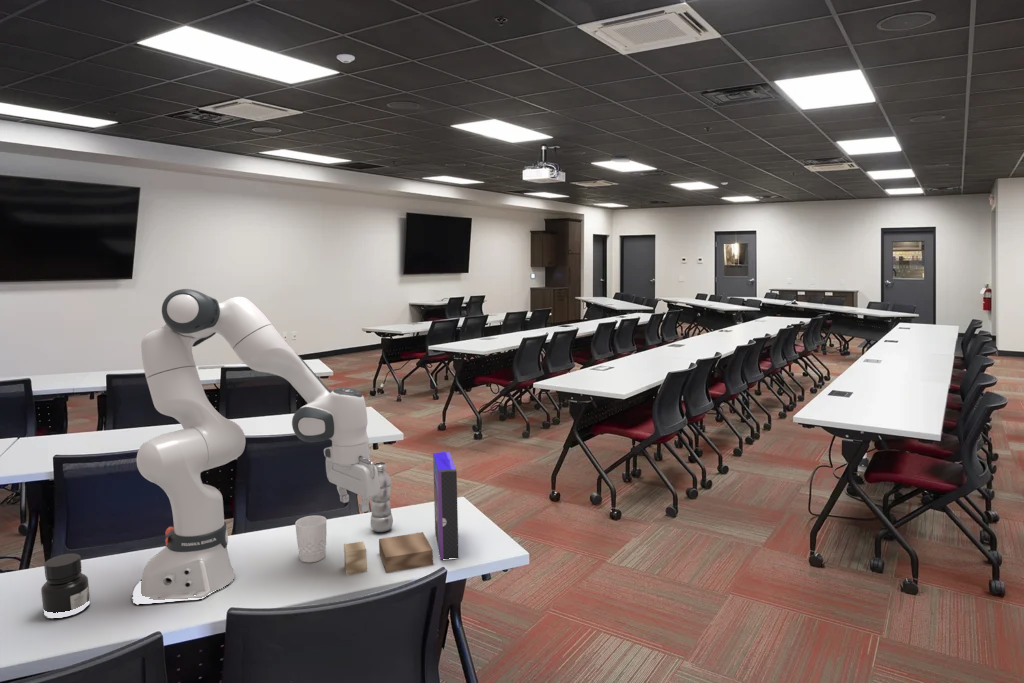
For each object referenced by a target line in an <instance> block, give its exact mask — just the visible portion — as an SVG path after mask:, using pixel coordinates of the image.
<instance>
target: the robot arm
mask: <svg viewBox="0 0 1024 683" xmlns="http://www.w3.org/2000/svg"><path fill="white" fill-rule="evenodd" d="M161 315H162V319H163V321H164V323H165V325H163V326H162V327H161V328H157V329H154V330H152V331H150V332H147V334H146V335H144V337H143V338H142V340H141V345H140V346H141V347H140V348H141V357H142V358H141V359H142V360H141V361H142V365H143V366H142V367H143V371H144V375H145V379H146V382H147V383H146V384H147V386H148V389H149V392H150V396H151V397H150V398H151V401H152V403H153V405H154V408H155V410H156V411H157V412H158V413H160V414H161V415H164V416H167V417H172V418H174V419H175V420H176V421H177V422H178V423H179V424H180V425H181V426H182V428H183V429H179V430H175V431H170V432H166V433H163V434H160V435H158V436H156V437H153V438H151V439H149V440H147V441H145V442H143V443H142V444H141V445H140V446H139V449H138V450H137V453H136V454H137V455H136V461H135V462H136V466H137V469H138V472H139V473H140V475H141V476H142V477H143V478H144V479H145V480H147V481H149V482H151V483H152V484H153V483H154V484H155V485H157V486H159V487H160V488H161V489H162V490H163V491H164V493H165V494H166V495H167V497H168V499H169V503H170V507H171V511H172V519H173V526H168V528H166V530H165V534H164V535H165V538H164V539H165V540H164V541H165V547H164V548H163V549H162V550H160V551H159V552H158V553H157V554H156V555H154V556H153V557H152V558H151V559H150V560H148V562H147V563H146V565H145V566H144V569H143V572H142V576H141V579H142V582H141V594H142V596H145V597H150V598H149V599H153V600H165V599H188V598H202V597H205V596H207V595H208V594H209V593H211V592H213V591H215V590H218V589H220V588H222V587H224V586H226V585H227V584H229V583H230V582H231V581H232V582H233V581H234V580H235V578H236V573H235V571H234V569H233V566H232V563H231V560H230V555H229V550H228V544H229V537H228V536H229V535H228V528H227V522H226V521H225V514H224V500H223V495H222V493H221V491H220V490H219V489H217V488H216V487H215V486H212V485H210V484H206V483H203V481H202V478H201V473H203V472H204V471H205V472H206V471H209V470H210V469H214V468H217V467H220V466H224V465H226V464H229V463H230V462H232V461H234V460H235V459H237V458H239V457H240V456H241V455H242V454H243V453H244V451H245V447H246V435H245V433H244V431H243V429H242V427H241V426H240V425H239V424H237V422H235V421H232V420H230V419H229V418H226V417H225V416H223V415H222V414H221V413H220V412H218V410H216V408H215V407H214V406H213V405H212V403H211V402H210V401H209V398H208V396H207V394H206V393H205V390H204V388H203V384H202V381H201V378H200V375H199V372H198V368H197V366H196V365H197V364H196V361H195V358H194V355H193V347H196V346H198V345H200V344H202V343H203V342H205V341H208V340H209V339H210V338H213V337H214V336H215V335H216V334H219V335H220V336H222V337H223V338H224V340H226V342H227V343H228V344H229V346H230V348H232V350H233V351H234V353H235V354H236V356H238V358H239V359H240V361H242V362H243V364H245V365H246V366H247V367H248V368H250V369H251V370H252V371H255V372H260V373H266V374H272V375H275V376H279V377H280V378H283V379H285V380H286V381H287V382H289V383H290V385H291V386H292V387H293V389H295V391H297V393H298V394H299V395H300V396H301V398H303V399H304V401H305V402H306V404H305V405H303V406H301V407H300V408H298V409H297V410H296V411H295V412H294V414H293V416H292V420H291V427H292V430H293V432H294V434H295V435H296V437H297V438H298V439H299V440H301V441H303V442H304V443H305V442H306V443H316V442H322V441H327V440H331V446H329V447H325V448H324V449H323V455H324V457H325V472H326V477H327V480H328V481H329V483H331V484H333V485H336V489H337V492H338V494H339V501H340V502H341V503H343V504H345V503H348V502H349V501H350V494H348V491H350V492H352V493H354V494H356V495H359V496H360V499H361V503H360V504H359V505H358V507H359V511H360V512H363V513H366V512H369V509H370V507H369V506H370V505H369V504H370V502H371V498H372V497H375V496H378V495H379V493H380V484H379V476H378V471H377V468H376V467H375V466H374V465H373V464H374V462H373V461H372V459H370V444H369V442H370V441H369V436H368V433H367V426H368V412H367V406H366V399H365V397H364V395H363V393H361V391H359V390H357V389H354V388H349V387H348V388H347V387H343V388H342V387H338V388H335V389H333V390H331V389H330V388H328V387H327V386H326V384H324V382H323V381H322V380H321V379H320V378H319V377H318V376H317V375H316V373H315V372H314V371H313V370H312V369H311V367H310V366H309V365H308V364H307V363H306V362H305V360H303V358H302V357H301V356H300V355H298V353H297V352H296V351H295V350H294V349H293V348H292V347H291V345H289V344H288V343H287V342H286V340H285V339H284V337H283V336H281V334H280V333H279V332H278V330H277V328H275V327H274V325H273V324H272V322H271V321H270V320H269V319H268V317H267V316H266V315H265V314H264V313H263V312H262V311H261V310H260V308H258V307H257V305H255V304H254V303H253V302H252V301H251V300H250V299H248V298H247V297H245V296H235V297H231V298H228V299H226V300H224V301H222V302H218V300H217V299H216V298H214V297H212V296H209V295H206V294H205V293H202V292H200V291H198V290H195V289H191V288H190V289H189V288H181V289H177V290H175V291H172V292H171V293H169V294H168V295H167V296H166V298H165V299H164V300H163V303H162V306H161ZM234 577H235V578H234ZM233 579H234V580H233ZM232 582H231V583H232ZM231 583H230V584H231ZM230 584H229V585H230ZM226 587H227V586H226ZM224 588H225V587H224ZM222 589H223V588H222ZM220 590H221V589H220ZM218 591H219V590H218ZM194 595H196V596H194Z"/></svg>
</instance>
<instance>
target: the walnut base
mask: <svg viewBox="0 0 1024 683" xmlns="http://www.w3.org/2000/svg"><path fill="white" fill-rule="evenodd" d="M378 548H379V549H378V553H379V556H380V559H381V561H382V563H383V567H384V569H385V573H392V572H398V571H404V570H411V569H416V568H422V567H423V568H424V567H427V566H433V565H434V550H433V548H432V546H431V544H430V542H429V540H428V539H427V537H426V535H425V533H424V532H423V531H422V532H417V533H416V532H414V533H409V534H402V535H395V536H389V537H382V538H378Z"/></svg>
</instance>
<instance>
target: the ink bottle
mask: <svg viewBox="0 0 1024 683" xmlns="http://www.w3.org/2000/svg"><path fill="white" fill-rule="evenodd" d="M43 566H44V576H45V580H46V582H45V583H44V584H42V587H41V603H42V610H43V609H44V610H45V611H47V612H53V613H56V612H57V613H58V612H65V611H70V610H73V609H76V608H78V607H80V606H82V605H84V604H85V603H86V602H88V601H89V599H90V600H91V594H90V586H89V585H90V584H89V578H88V576H87V575H86V574H84V573H82V570H83V569H82V568H83V567H82V560H81V555H80V554H78V553H65V554H59V555H56V556H54V557H51V558H49V559H47V560H46V561H44V564H43Z"/></svg>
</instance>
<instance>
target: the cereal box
mask: <svg viewBox="0 0 1024 683" xmlns="http://www.w3.org/2000/svg"><path fill="white" fill-rule="evenodd" d="M432 460H433V461H432V463H433V465H432V466H433V467H432V468H433V469H432V470H433V497H434V499H433V502H434V504H433V505H434V534H435V540H436V544H437V548H438V550H439V551H438V555H440V556H439V560H442V561H444V560H443V559H449V558H459V554H460V553H459V523H458V522H459V521H458V518H459V516H458V480H457V479H458V474H457V469H456V466H455V463H454V460H453V456H452V454H451V452H450V451H447V452H446V451H441V452H434V453H432Z"/></svg>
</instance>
